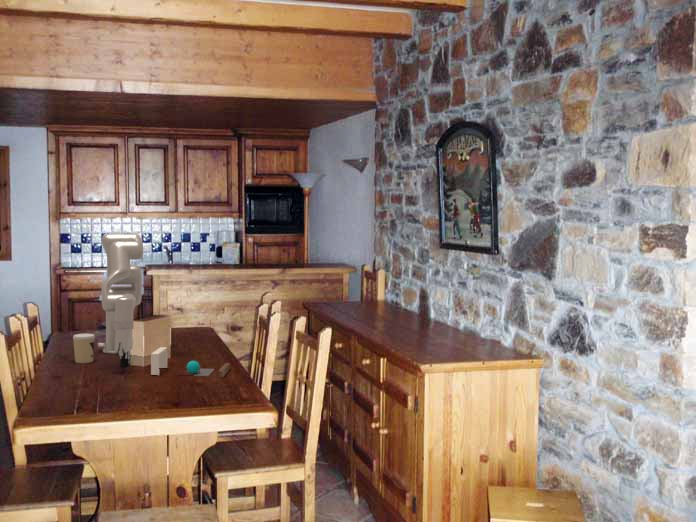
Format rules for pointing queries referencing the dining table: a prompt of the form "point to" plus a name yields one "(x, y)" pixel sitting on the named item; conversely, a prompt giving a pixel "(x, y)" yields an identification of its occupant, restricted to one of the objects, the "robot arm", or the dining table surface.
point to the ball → (193, 367)
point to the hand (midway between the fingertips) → (124, 367)
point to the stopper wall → (224, 370)
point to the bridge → (158, 360)
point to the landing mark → (204, 372)
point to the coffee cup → (84, 348)
